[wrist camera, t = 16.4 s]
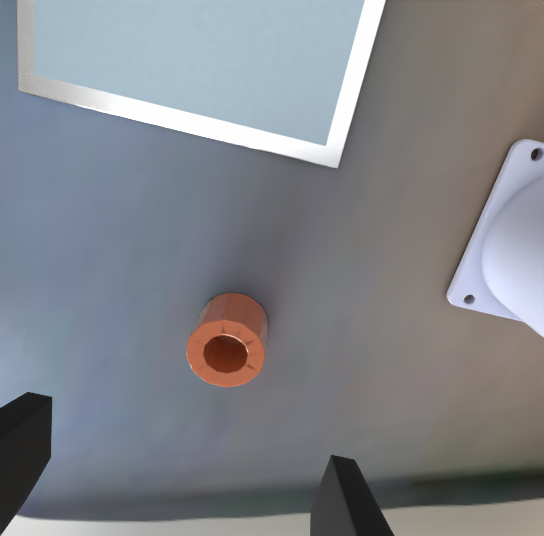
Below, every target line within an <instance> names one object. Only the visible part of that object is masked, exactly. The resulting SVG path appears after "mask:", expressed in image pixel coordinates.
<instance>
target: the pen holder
mask: <svg viewBox="0 0 544 536" xmlns="http://www.w3.org/2000/svg"><path fill="white" fill-rule="evenodd" d="M267 337H268V320H267V316H266V314H265V311H264V310H263V308H262V307H261V306H260V304H259V303H258V302H256V301H255V300H254V299H252V298H251V297H249V296H246V295H243V294H239V293H226V294H222V295H219V296H217V297H215V298H213V299H212V300H211V301H209V302H208V303H207V305H206V306H205V308H204V309H203V310H202V311H201V313H200V315H199V318H198V320H197V322H196V324H195V326H194V328H193V330H192V332H191V334H190V336H189V339H188V345H187V351H186V356H187V359H188V361H189V363H190V365H191V368H192V370H193V371H194V373H196V374H197V375H198V376H200V377H201V378H202V379H204V380H205V381H206V382H207V383H210V384H214V385H218V386H223V387H233V386H237V385H242V384H246V383H248V382H249V381H251V380H252V379H253V378H254V377H255V376H256V375H257V374H258V373H260V371H261V370H262V367H263V363H264V359H265V356H266V346H267Z"/></svg>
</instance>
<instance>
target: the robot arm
mask: <svg viewBox="0 0 544 536" xmlns="http://www.w3.org/2000/svg"><path fill="white" fill-rule="evenodd" d="M534 149H537V150H538V155H537V157H536V158H535V159H533V160H532V159H531V153H532V151H533V150H534ZM467 295H471V298H470V299H469V300H467V301H464V298H465V297H466V296H467ZM446 296H447V299H448V300H449V302H450V303H451V304H452V305H455V306H458V307H463V308H467V309H471V310H476V311H480V312H484V313H489V314H493V315H497V316H502V317H506V318H510V319H515V320H519V321H523V322H525V323H526V324H528V325H529V326H530V327H531V328H532V329H534V330H535V331H536V332H537V333H538V334H540V335H541V336H542V337H543V338H544V143H543V142H539V141H535V140H531V139H521V140H518V141H516V142H515V143H514V144H513V145H512V147H511V148H510V150H509V153H508V155H507V157H506V159H505V162H504V164H503V166H502V169H501V171H500V173H499V175H498V178H497V180H496V182H495V184H494V187H493V189H492V191H491V194H490V196H489V198H488V200H487V203H486V205H485V207H484V209H483V212H482V214H481V216H480V219H479V221H478V223H477V225H476V228H475V230H474V232H473V235H472V237H471V239H470V241H469V244H468V246H467V248H466V250H465V253H464V255H463V257H462V260H461V262H460V264H459V266H458V269H457V271H456V273H455V275H454V278H453V280H452V282H451V285H450V287H449V289H448V291H447V295H446ZM51 428H52V397H50V396H45V395H40V394H35V393H30V392H27V393H25V394H24V395H22V396H20V397H18V398H17V399H15V400H13V401H11V402H10V403H8V404H6V405H5V406H3V407H1V408H0V535H1V534H2V533H3V532H4V530H5V528H6V527H7V526H8V524H9V523H10V522H11V520H12V519H13V518H14V516H15V515H16V514H17V512H18V511H19V509H20V508H21V506H22V505H23V504H24V502H25V501H26V499H27V498H28V496H29V494H30V493H31V491H32V489H33V488H34V486H35V484H36V483H37V481H38V479H39V477H40V476H41V474H42V472H43V470H44V469H45V467H46V465H47V463H48V462H49V460H50V458H51ZM310 525H311V526H310V536H394V534H393V532H392V531H391V529H390V527H389V525H388V523H387V521H386V520H385V518H384V516H383V514H382V512H381V510H380V508H379V506H378V504H377V502H376V500H375V498H374V496H373V495H372V493H371V491H370V489H369V487H368V485H367V483H366V481H365V479H364V477H363V475H362V473H361V471H360V469H359V467H358V465H357V463H356V462H355V460H354V459H349V458H344V457H339V456H334V455H331V457H330V460H329V463H328V465H327V468H326V471H325V473H324V476H323V478H322V481H321V484H320V486H319V489H318V492H317V494H316V497H315V499H314V502H313V505H312V507H311V521H310Z"/></svg>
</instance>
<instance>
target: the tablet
mask: <svg viewBox="0 0 544 536" xmlns="http://www.w3.org/2000/svg"><path fill="white" fill-rule="evenodd" d="M385 4H386V0H17V67H18V91H19V92H23V93H27V94H31V95H36V96H40V97H44V98H48V99H52V100H56V101H60V102H64V103H68V104H73V105H77V106H81V107H85V108H89V109H93V110H97V111H101V112H105V113H109V114H114V115H118V116H122V117H126V118H130V119H134V120H138V121H142V122H146V123H151V124H155V125H159V126H163V127H167V128H171V129H175V130H179V131H183V132H187V133H192V134H196V135H200V136H204V137H208V138H212V139H216V140H220V141H224V142H229V143H233V144H237V145H241V146H245V147H249V148H253V149H257V150H261V151H265V152H270V153H274V154H278V155H282V156H286V157H290V158H294V159H298V160H302V161H307V162H311V163H315V164H319V165H323V166H327V167H331V168H335V169H338V168H339V164H340V161H341V157H342V154H343V150H344V147H345V143H346V140H347V136H348V133H349V129H350V126H351V123H352V119H353V116H354V112H355V109H356V105H357V102H358V98H359V95H360V91H361V88H362V84H363V81H364V77H365V74H366V70H367V67H368V63H369V60H370V56H371V53H372V49H373V46H374V42H375V39H376V35H377V32H378V28H379V25H380V21H381V18H382V14H383V11H384V7H385Z"/></svg>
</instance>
